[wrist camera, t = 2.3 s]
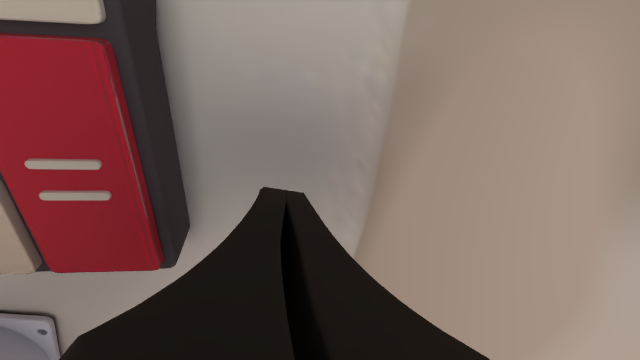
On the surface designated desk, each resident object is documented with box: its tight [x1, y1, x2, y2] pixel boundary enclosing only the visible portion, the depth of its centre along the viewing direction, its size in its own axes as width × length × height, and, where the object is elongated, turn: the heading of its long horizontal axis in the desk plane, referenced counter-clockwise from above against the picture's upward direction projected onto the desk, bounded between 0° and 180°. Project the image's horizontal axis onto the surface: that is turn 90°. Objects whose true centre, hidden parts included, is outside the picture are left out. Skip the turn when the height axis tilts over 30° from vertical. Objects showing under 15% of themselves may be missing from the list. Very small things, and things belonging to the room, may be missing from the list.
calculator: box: [0, 0, 190, 274], centre depth 13 cm, size 11×4×15 cm
